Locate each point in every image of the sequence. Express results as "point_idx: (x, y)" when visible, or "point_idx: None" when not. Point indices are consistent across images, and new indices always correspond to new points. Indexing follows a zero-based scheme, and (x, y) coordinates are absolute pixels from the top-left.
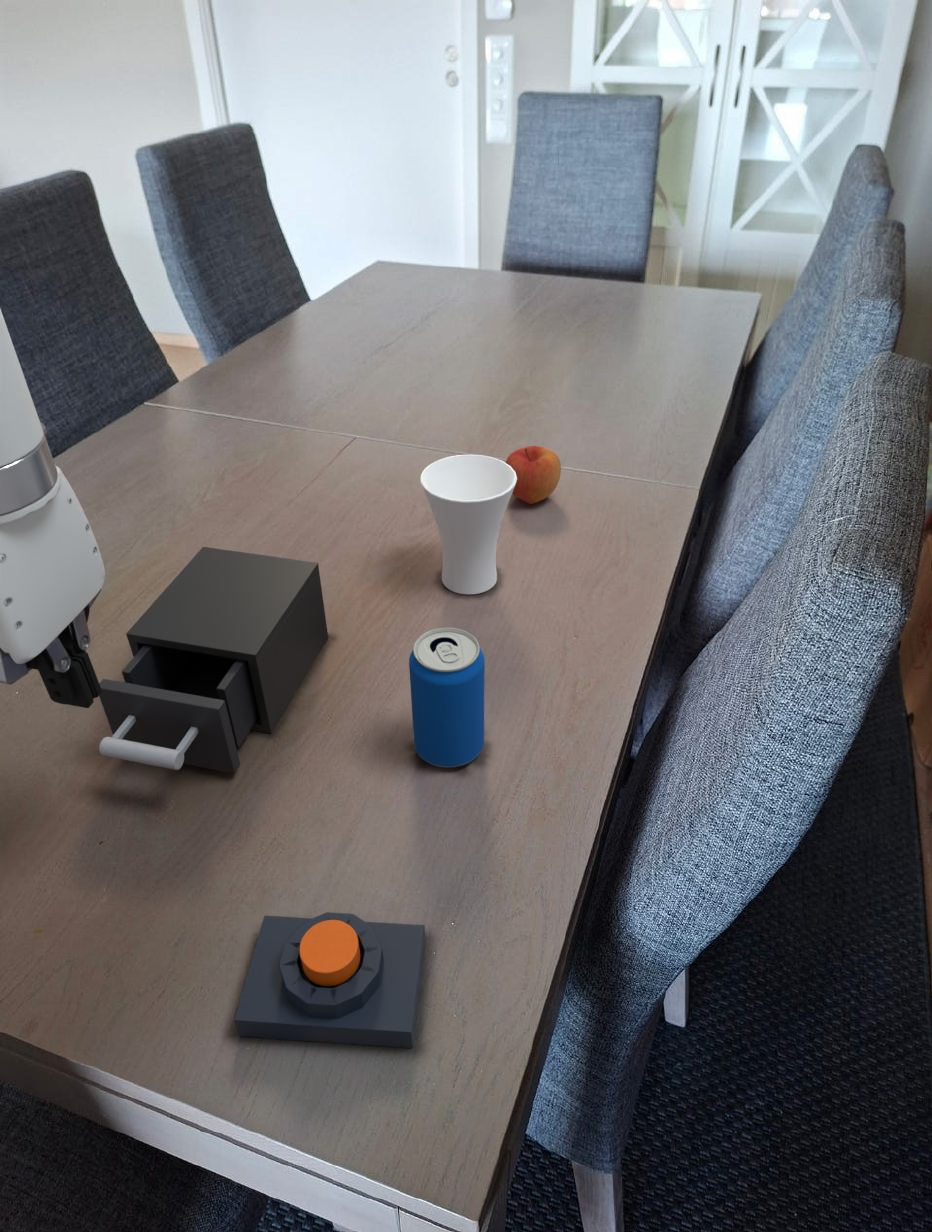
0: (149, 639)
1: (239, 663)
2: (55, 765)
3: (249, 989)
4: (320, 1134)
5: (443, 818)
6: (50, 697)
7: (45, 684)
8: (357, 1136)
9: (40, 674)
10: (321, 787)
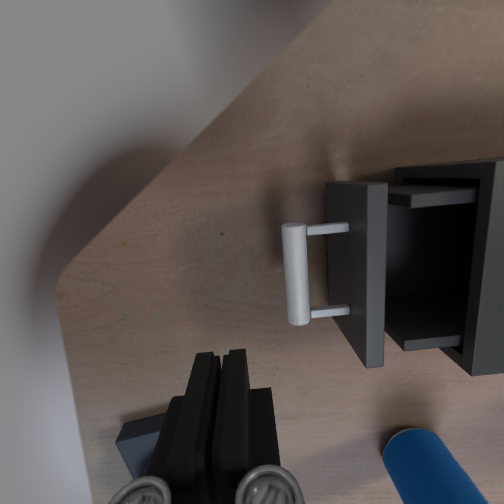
0: (487, 206)
1: (457, 342)
2: (292, 114)
3: (138, 441)
4: (97, 485)
5: (334, 466)
6: (196, 355)
7: (160, 435)
8: (106, 500)
9: (147, 470)
10: (339, 376)
